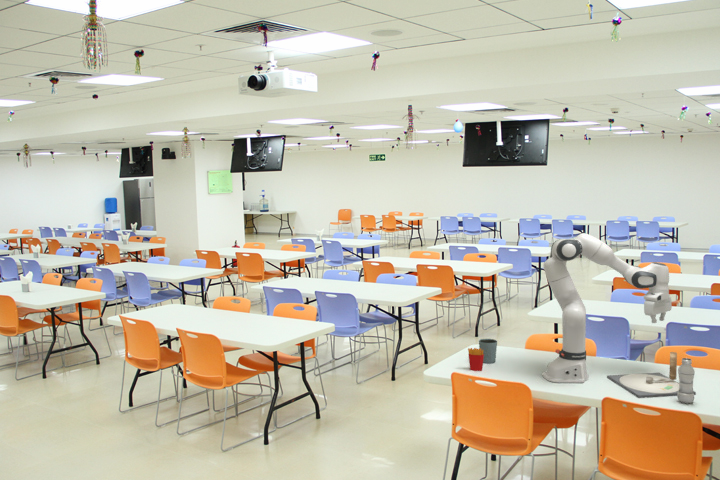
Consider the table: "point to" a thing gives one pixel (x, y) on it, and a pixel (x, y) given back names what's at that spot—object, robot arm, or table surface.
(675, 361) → the needle lever
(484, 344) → the grey bucket
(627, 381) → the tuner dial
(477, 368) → the french fries
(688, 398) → the plastic bottle
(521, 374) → the table surface
